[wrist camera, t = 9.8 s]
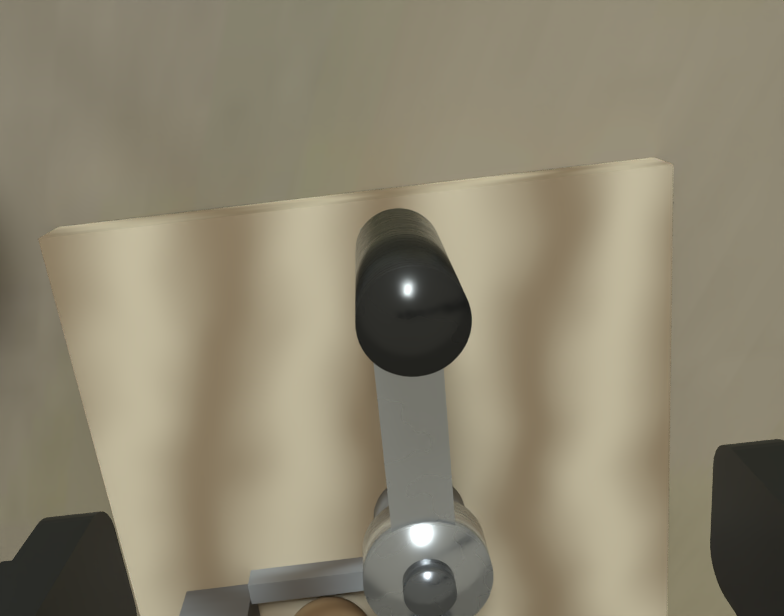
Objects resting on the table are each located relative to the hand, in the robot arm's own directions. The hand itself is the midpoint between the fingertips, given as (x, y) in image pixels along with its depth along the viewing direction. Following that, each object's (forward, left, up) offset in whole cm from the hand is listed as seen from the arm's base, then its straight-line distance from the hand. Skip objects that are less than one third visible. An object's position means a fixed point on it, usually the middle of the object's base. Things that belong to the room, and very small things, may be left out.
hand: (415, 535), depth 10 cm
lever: (0, +9, -18) cm, 20 cm away
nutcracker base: (+1, +11, -21) cm, 24 cm away
